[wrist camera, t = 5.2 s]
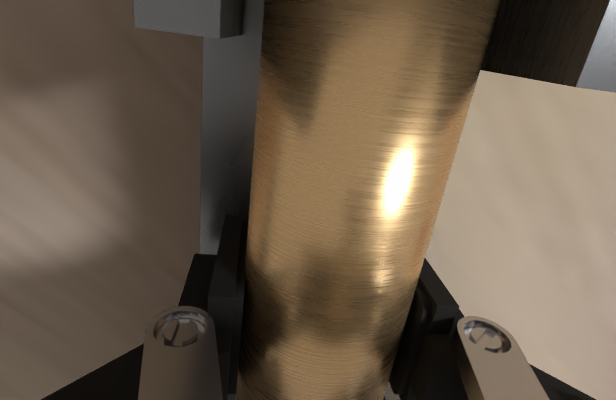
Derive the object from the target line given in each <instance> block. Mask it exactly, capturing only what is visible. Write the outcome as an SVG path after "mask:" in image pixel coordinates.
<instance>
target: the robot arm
mask: <svg viewBox="0 0 616 400" xmlns="http://www.w3.org/2000/svg"><path fill="white" fill-rule="evenodd" d="M247 234H248V220H243V215H233V214H226V215H225V219H224V224H223V229H222V233H221V238H220V243H219V247H218V252H217V255H212V254H195V255H194V257H193V261H192V264H191V267H190V270H189V273H188V276H187V280H186V283H185V286H184V289H183V292H182V295H181V299H180V302H179V305H178V307H173V308H169V309H167V310H164V311H162V312H160V313H159V314H157V315H156V316H154V317H153V318H152V320H151V321H150V322H149V323H148V325H147V328H146V331H145V339H144V344H142V345H140V346H138V347H137V348H135V349H133V350H131V351H129V352H127V353H126V354H124V355H122V356H120V357H118V358H116V359H115V360H113V361H111V362H109V363H107V364H105V365H104V366H102V367H100V368H98V369H96V370H94V371H93V372H91V373H89V374H87V375H85V376H83V377H82V378H80V379H78V380H76V381H74V382H72V383H71V384H69V385H67V386H65V387H63V388H61V389H60V390H58V391H56V392H54V393H52V394H50V395H49V396H47V397H45V398H43V399H41V400H227V397H228V394H236V390H237V378H238V365H239V352H240V340H241V327H242V315H243V302H244V289H245V277H246V274H245V261H246V247H247ZM389 383H390V386H391V389H392V391H393V393H394V394H399V397H400V400H596V399H594V398H592V397H590V396H588V395H586V394H585V393H583V392H581V391H579V390H577V389H575V388H573V387H571V386H570V385H568V384H566V383H564V382H562V381H560V380H558V379H556V378H555V377H553V376H551V375H549V374H547V373H545V372H543V371H541V370H540V369H538V368H536V367H534V366H532V365H530V364H529V363H528V361H527V359H526V358H525V356H524V354H523V352H522V351H521V349H520V347H519V345H518V344H517V342H516V340H515V339H514V338H513V336H512V335H511V334H510V333H509V332H508V331H507V330H505V329H504V328H503V327H501V326H500V325H498V324H497V323H495V322H492V321H490V320H488V319H485V318H481V317H476V316H467V317H464V315H463V314H462V313H461V311H460V310H459V305H458V304H457V303H456V301H455V300H454V298H453V297H452V295H451V294H450V293H449V291H448V290H447V288H446V287H445V286H444V284H443V283H442V281H441V280H440V278H439V277H438V276H437V274H436V273H435V271H434V270H433V268H432V267H431V266H430V264H429V263H428V261H427V260H426V259H425V258H424V262H423V265H422V269H421V272H420V275H419V279H418V282H417V286H416V289H415V292H414V296H413V299H412V303H411V306H410V309H409V313H408V316H407V320H406V323H405V326H404V330H403V333H402V337H401V340H400V343H399V347H398V350H397V354H396V357H395V360H394V364H393V367H392V371H391V374H390V377H389Z"/></svg>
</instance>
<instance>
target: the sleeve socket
mask: <svg viewBox="0 0 616 400" xmlns="http://www.w3.org/2000/svg"><path fill="white" fill-rule="evenodd" d="M264 2H265V0H133V9H134V28H142V29H149V30H157V31H164V32H171V33H179V34H186V35H194V36H201V37H203V67H202V130H201V192H200V254H212V255H217V252H218V247H219V243H220V238H221V233H222V229H223V224H224V219H225V215H226V214H233V215H243V220H249V206H250V193H251V179H252V165H253V152H254V138H255V124H256V111H257V97H258V83H259V70H260V56H261V42H262V29H263V15H264ZM480 70H484V71H490V72H495V73H501V74H506V75H512V76H517V77H523V78H529V79H534V80H540V81H545V82H551V83H556V84H562V85H567V86H573V87H580V88H587V89H594V90H602V91H609V92H616V0H500V4H499V7H498V10H497V14H496V17H495V21H494V24H493V27H492V31H491V34H490V38H489V41H488V44H487V48H486V51H485V55H484V58H483V61H482V65H481V68H480ZM235 397H236V394H228V397H227V400H235ZM383 400H400V397H399V394H394V393H393V391H392V389H391V386H390V383H389V381H388V384H387V388H386V391H385V394H384V398H383Z"/></svg>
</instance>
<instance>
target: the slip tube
mask: <svg viewBox="0 0 616 400" xmlns="http://www.w3.org/2000/svg"><path fill="white" fill-rule="evenodd" d="M499 4H500V0H265V2H264V15H263V29H262V42H261V56H260V70H259V83H258V97H257V111H256V124H255V138H254V152H253V165H252V179H251V193H250V206H249V220H248V234H247V247H246V261H245V274H246V277H245V289H244V302H243V315H242V327H241V340H240V352H239V365H238V378H237V390H236V397H235V400H383V398H384V394H385V391H386V388H387V384H388V381H389V377H390V374H391V371H392V367H393V364H394V360H395V357H396V354H397V350H398V347H399V343H400V340H401V337H402V333H403V330H404V326H405V323H406V320H407V316H408V313H409V309H410V306H411V303H412V299H413V296H414V292H415V289H416V286H417V282H418V279H419V275H420V272H421V269H422V265H423V262H424V258H425V255H426V252H427V248H428V245H429V241H430V238H431V235H432V231H433V228H434V224H435V221H436V218H437V214H438V211H439V207H440V204H441V201H442V197H443V194H444V191H445V187H446V184H447V180H448V177H449V174H450V170H451V167H452V163H453V160H454V157H455V153H456V150H457V146H458V143H459V140H460V136H461V133H462V129H463V126H464V123H465V119H466V116H467V112H468V109H469V106H470V102H471V99H472V95H473V92H474V89H475V85H476V82H477V78H478V75H479V72H480V68H481V65H482V61H483V58H484V55H485V51H486V48H487V44H488V41H489V38H490V34H491V31H492V27H493V24H494V21H495V17H496V14H497V10H498V7H499Z"/></svg>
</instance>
